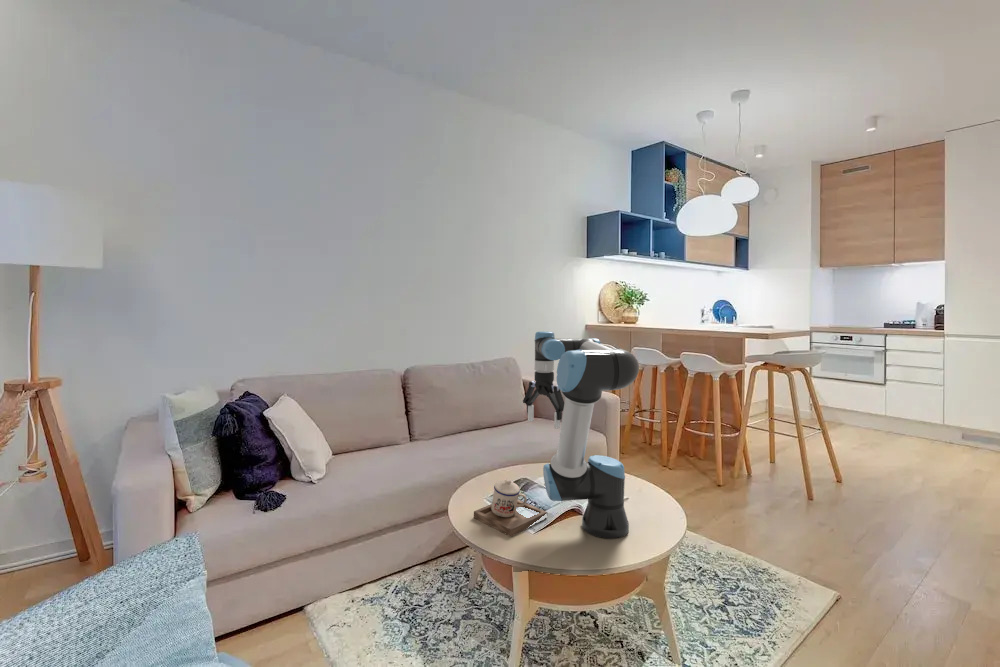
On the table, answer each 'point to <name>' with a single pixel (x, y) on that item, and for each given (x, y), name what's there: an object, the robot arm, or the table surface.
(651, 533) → the table surface
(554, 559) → the table surface
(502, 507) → the teacup with lid
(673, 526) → the table surface
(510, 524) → the tray
